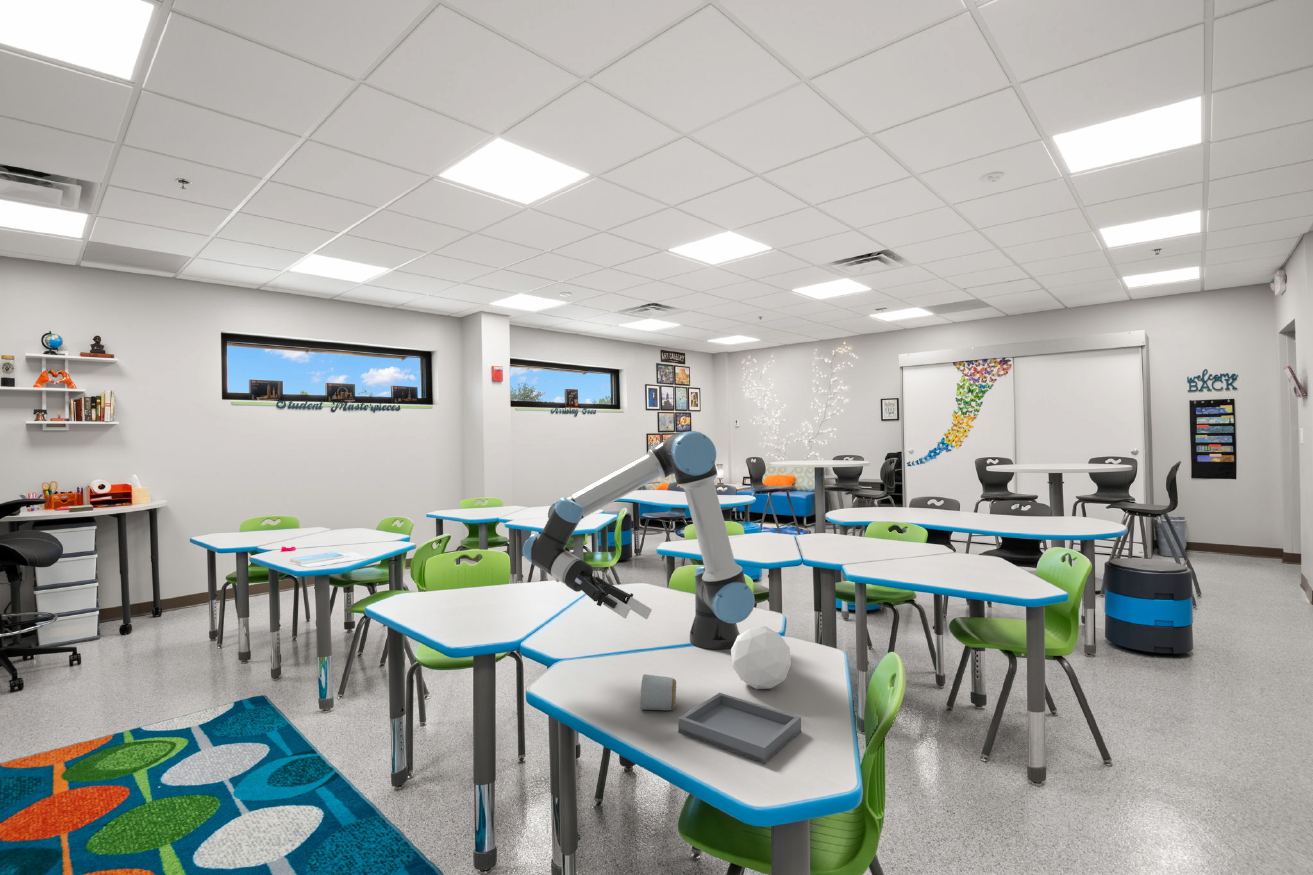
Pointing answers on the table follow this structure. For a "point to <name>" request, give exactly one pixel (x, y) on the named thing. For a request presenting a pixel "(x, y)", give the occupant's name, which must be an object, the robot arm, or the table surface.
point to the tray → (740, 726)
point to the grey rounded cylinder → (657, 693)
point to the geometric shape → (761, 657)
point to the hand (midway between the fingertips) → (639, 613)
